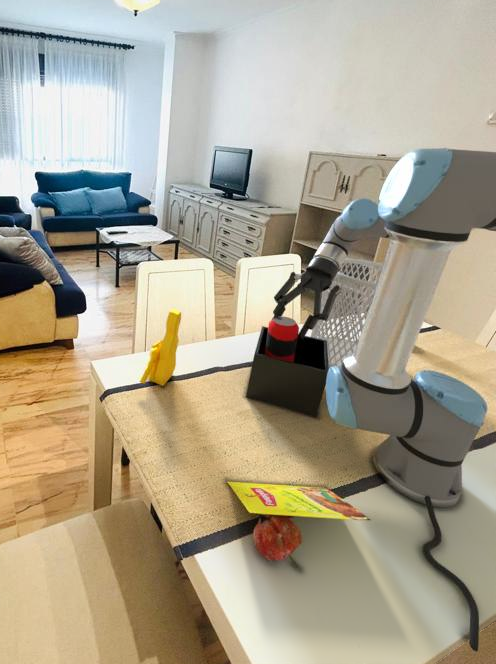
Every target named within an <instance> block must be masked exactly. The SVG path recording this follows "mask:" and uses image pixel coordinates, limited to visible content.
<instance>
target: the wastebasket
mask: <svg viewBox="0 0 496 664" xmlns="http://www.w3.org/2000/svg"><path fill="white" fill-rule="evenodd" d="M382 266H383V263H382V262H377V261H371V260H366V259H358V258H357V259H355V258H346V259H345V260H344V262H343V264H342V266H341V267H340V269H339V270H338V273H337V274H336V276H335V278H334V279H333V281H332V284H333V285H335V286H336V285H338V286H339V287H340V293H339V294H338V296H337V297H336V298H335V301H334V304H333V306H332V309H331V312H330V314H329V317H328V320H327V321H324V320H318V321H317V323H316V325H315V327H314V328H313V329H312V330H311V333H310V337H313V338H317V339H322V340H326V341H327V348H328V362H329V369H330V368H331V367H333V366H338V367H341V366H342V363H343V360H344V358H345V356H347V355H349V354H352V353H355V351H356V348H357V344H358V341H359V338H360V333H361V332H362V329H363V326H364V322H363V321H365V319H366V316H367V313H368V310H367V309H369V307H370V304H371V301H372V297H373V294H374V291H375V288H376V285H377V282H378V279H379V276H378V273H379V272H380V271H381V269H382ZM344 267H345V269H343V268H344ZM349 267H350V269H349ZM355 267H356V269H355V271H354V268H355ZM361 267H362V270H361V271H360V269H361ZM367 268H368V272H366V270H367ZM377 268H378V269H377ZM348 269H349V270H348ZM373 270H374V273H373V274H372V271H373ZM345 273H346V274H345ZM356 273H357V276H356V277H355V274H356ZM350 274H351V276H350ZM362 274H363V277H362V278H361V275H362ZM368 275H369V278H368V280H367V277H368ZM374 277H375V281H373V278H374ZM351 287H352V289H351ZM358 287H359V289H358V291H357V288H358ZM365 289H366V290H365ZM364 290H365V291H364ZM329 293H330V288H329V289H327V290H325V291H323V292H322V298H321V309H320V313H322V312H323V309H324V306H325V304H326V301H327V299H328V296H329ZM359 295H360V297H359ZM336 315H337V316H336ZM337 320H338V321H337ZM357 320H358V321H357ZM333 326H334V327H333ZM334 332H335V333H334ZM345 332H346V333H345ZM333 333H334V334H333Z"/></svg>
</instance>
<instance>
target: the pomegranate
mask: <svg viewBox="0 0 496 664" xmlns="http://www.w3.org/2000/svg"><path fill="white" fill-rule="evenodd" d="M254 514H255V515H257V516H259V519H258V522H257V524H256V525H255V526H254V529H253V536H252V537H253V541H254V545H255V548H256V550H257V551H258V553H259V554H260V555H261V556H262V557H263V558H264V559H267V560H268V561H270V562H272V561H274V560H275V561H277V562H282V561H285V559H286V558H287V557H289V558H290V559H291V561H292V562H293V564H294V565H295V566H296V568H299V566H298V564H297V563H296V561H295V560H294V558H293V556H292V554H293V553H294V552H295V550H296V549H298V547H299V546H300V545H302V543H303V538H302V537H303V536H302V533H301V530H300V529H299V527H298V526H297V525H296V523H295V522H294V521H293V520H292V519H291V518H290V516H285V515H269V514H258V513H254Z"/></svg>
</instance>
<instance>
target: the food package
mask: <svg viewBox="0 0 496 664" xmlns="http://www.w3.org/2000/svg"><path fill="white" fill-rule="evenodd" d="M226 482H227V484H228V485H229V487H230V488H231V490H232V491H233V492H234V493H235V496H237V498H238V499H239V501H240V502H241V503H242V505H243V506H244V507H245V509H246V510H247V512H248V513H249V514H255V513H258V514H262V515H267V514H269V515H285V516H288V517H302V518H317V519H319V518H320V519H331V520H332V519H334V520H347V521H365V522H367V521H368V522H372V521H373V520H372V518H371V519H370V517H369V516H366V515H365V514H364V513H363V512H361V511H360V510H359V509H357V508H356V507H354V506H353V505H351V504H350V503H349V502H347V501H346V500H344V499H343V498H342V497H340V496H339V495H338V494H336V493H334V492H333V491H332V490H330V489H328V488H327V487H318V486H317V487H315V486H314V487H313V486H300V485H285V484H284V485H283V484H271V483H270V484H269V483H268V484H267V483H254V482H237V481H226ZM258 514H257V515H258Z"/></svg>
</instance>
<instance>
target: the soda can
mask: <svg viewBox="0 0 496 664" xmlns="http://www.w3.org/2000/svg"><path fill="white" fill-rule="evenodd" d="M267 327H268V333H267V340H266V348H265V355H266V356H270V357H274V358H278V359H282V360H286V361H290V362H294V356H295V350H296V344H297V338H298V334H299V332H300V327H299V325H298V323H297V322H296V320H295V319H293V318H291V317H288V316H283V315H282V316H279V317H275V318H274V319H273V320H272V319H271V320H269V322H268V326H267Z"/></svg>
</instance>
